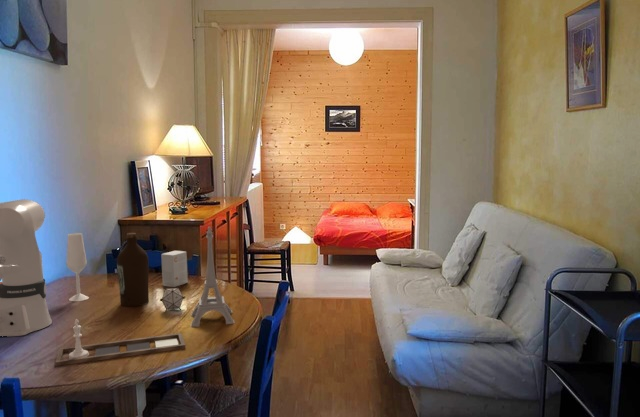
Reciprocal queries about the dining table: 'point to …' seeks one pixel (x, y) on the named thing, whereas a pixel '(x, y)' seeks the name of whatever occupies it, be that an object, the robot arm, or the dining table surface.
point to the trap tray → (120, 354)
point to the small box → (174, 268)
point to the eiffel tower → (205, 301)
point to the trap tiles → (116, 348)
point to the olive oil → (133, 273)
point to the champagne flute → (76, 261)
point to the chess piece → (78, 343)
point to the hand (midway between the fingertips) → (11, 264)
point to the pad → (166, 342)
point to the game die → (172, 298)
